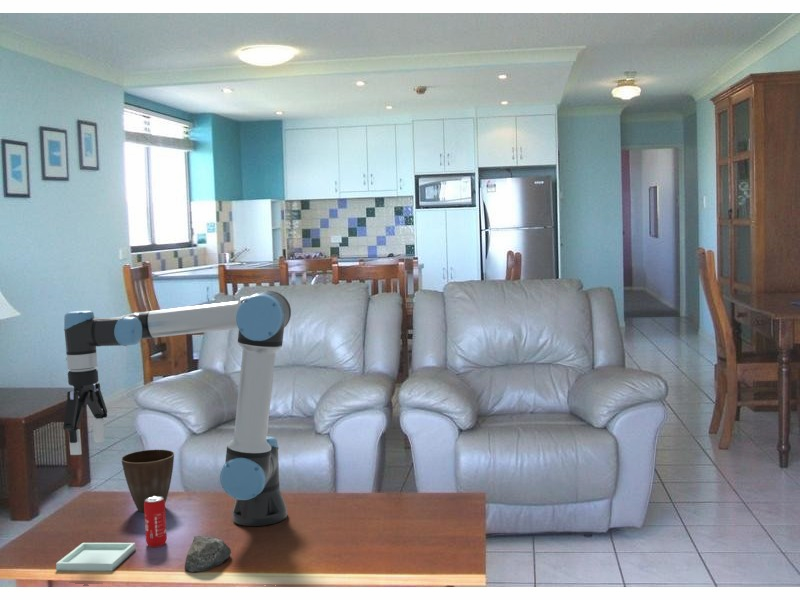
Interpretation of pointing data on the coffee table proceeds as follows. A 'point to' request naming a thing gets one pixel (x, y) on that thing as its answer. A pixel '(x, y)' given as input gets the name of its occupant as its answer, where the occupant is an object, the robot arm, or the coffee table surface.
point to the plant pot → (148, 474)
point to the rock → (206, 554)
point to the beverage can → (155, 521)
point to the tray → (96, 557)
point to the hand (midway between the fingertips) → (88, 448)
